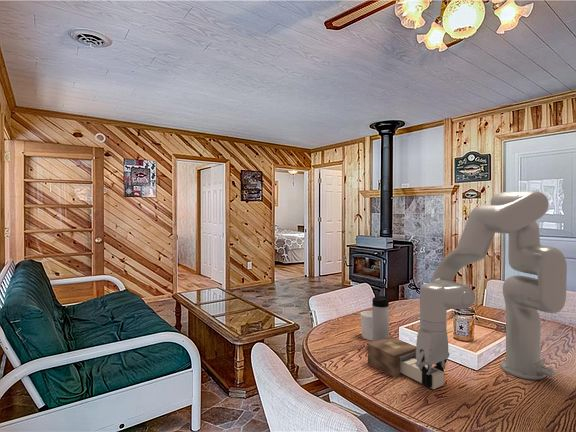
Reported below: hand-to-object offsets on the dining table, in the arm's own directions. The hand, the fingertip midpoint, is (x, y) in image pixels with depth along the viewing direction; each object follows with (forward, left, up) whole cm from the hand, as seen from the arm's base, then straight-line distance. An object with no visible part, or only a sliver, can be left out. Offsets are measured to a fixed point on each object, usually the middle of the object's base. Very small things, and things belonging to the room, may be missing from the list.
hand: (433, 382), depth 107 cm
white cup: (+39, -12, -1) cm, 41 cm away
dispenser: (+16, 0, -1) cm, 16 cm away
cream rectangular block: (+5, 0, -1) cm, 5 cm away
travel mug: (+29, -8, -1) cm, 30 cm away
